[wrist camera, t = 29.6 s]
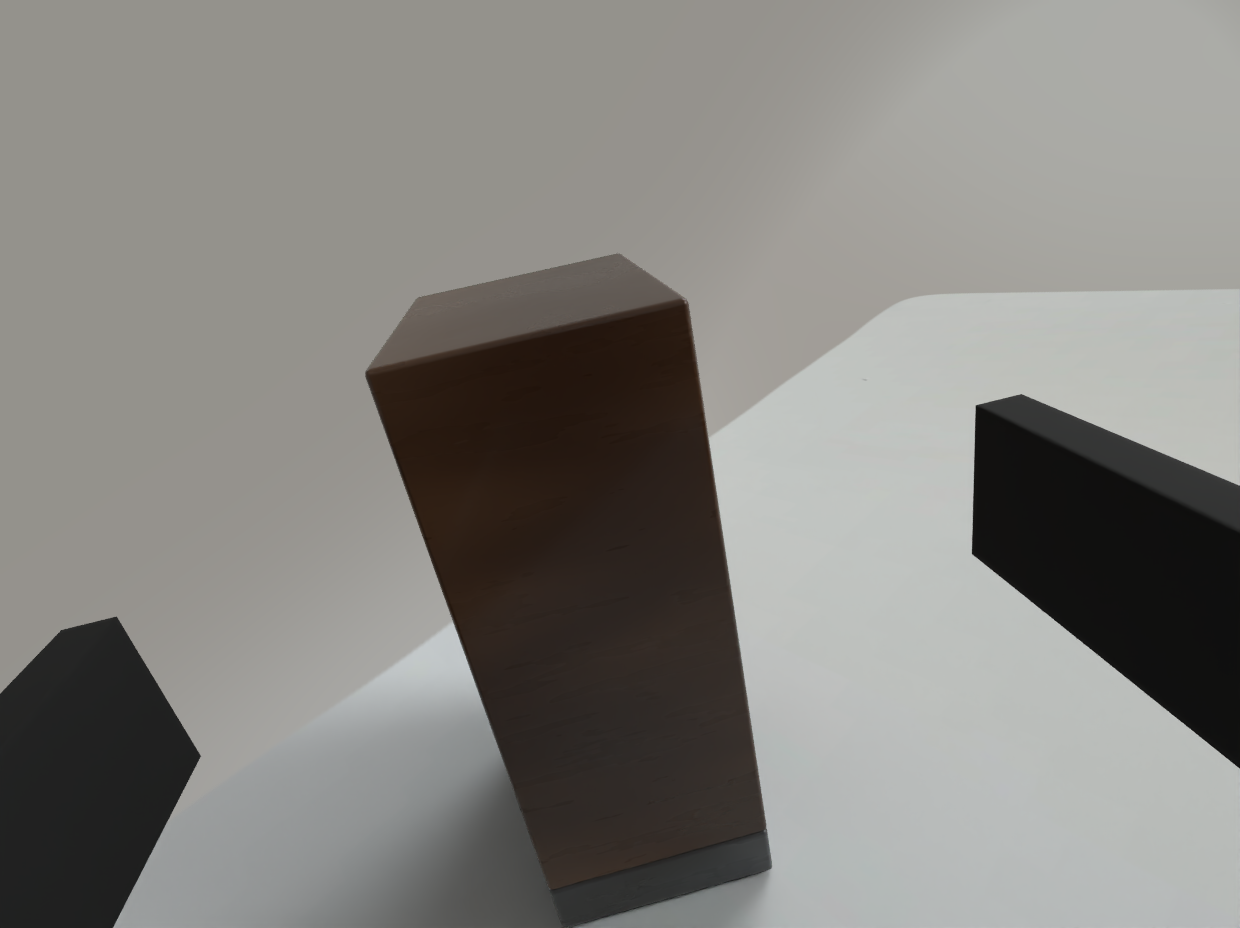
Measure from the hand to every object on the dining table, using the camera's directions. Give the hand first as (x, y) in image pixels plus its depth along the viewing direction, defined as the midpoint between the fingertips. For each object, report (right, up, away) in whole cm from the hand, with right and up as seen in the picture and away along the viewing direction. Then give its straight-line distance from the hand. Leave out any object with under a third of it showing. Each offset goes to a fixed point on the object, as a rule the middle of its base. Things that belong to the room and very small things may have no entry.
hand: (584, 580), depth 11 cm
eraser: (+1, -6, +6) cm, 9 cm away
